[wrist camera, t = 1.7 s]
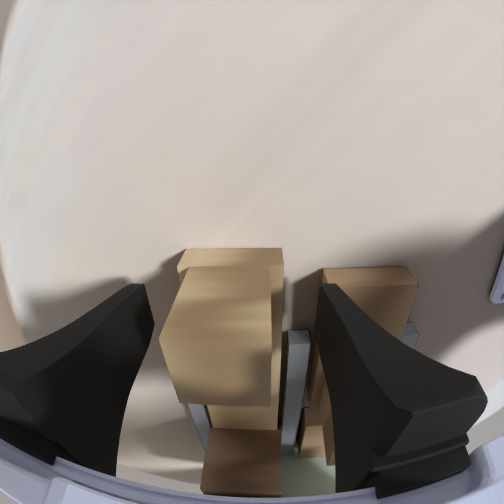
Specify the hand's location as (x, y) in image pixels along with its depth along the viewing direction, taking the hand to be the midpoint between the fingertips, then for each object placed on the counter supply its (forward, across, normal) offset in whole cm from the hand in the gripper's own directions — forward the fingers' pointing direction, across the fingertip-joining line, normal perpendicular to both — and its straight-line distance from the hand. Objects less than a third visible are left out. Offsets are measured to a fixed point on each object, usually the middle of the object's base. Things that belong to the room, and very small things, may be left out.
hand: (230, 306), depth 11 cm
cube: (0, 0, +12) cm, 13 cm away
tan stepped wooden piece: (+2, 0, +6) cm, 7 cm away
